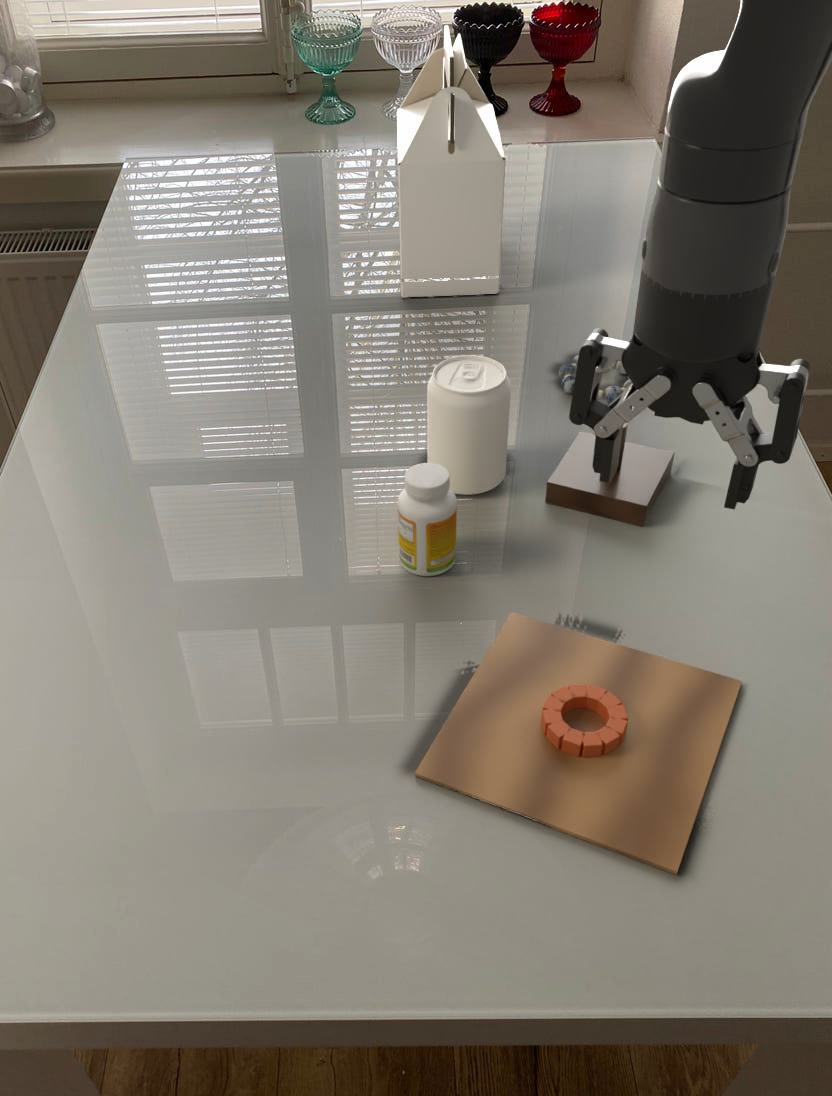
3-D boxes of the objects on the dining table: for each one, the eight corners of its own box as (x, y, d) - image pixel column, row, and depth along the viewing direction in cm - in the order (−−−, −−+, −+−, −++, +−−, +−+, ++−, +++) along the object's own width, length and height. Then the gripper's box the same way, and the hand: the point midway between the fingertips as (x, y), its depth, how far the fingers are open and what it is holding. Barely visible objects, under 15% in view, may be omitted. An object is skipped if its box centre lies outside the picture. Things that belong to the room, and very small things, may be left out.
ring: (635, 711, 79) (637, 699, 78) (610, 768, 75) (612, 756, 74) (557, 686, 81) (559, 674, 80) (530, 740, 77) (531, 728, 76)
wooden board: (741, 684, 81) (742, 680, 80) (676, 875, 68) (677, 872, 68) (510, 615, 88) (511, 611, 88) (414, 776, 76) (414, 773, 76)
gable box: (499, 296, 133) (510, 62, 114) (401, 300, 134) (395, 68, 114) (487, 230, 149) (495, 15, 130) (399, 234, 150) (394, 21, 130)
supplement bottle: (460, 545, 96) (463, 461, 89) (449, 581, 92) (451, 496, 85) (406, 538, 97) (404, 454, 90) (393, 573, 93) (390, 488, 86)
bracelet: (658, 397, 113) (661, 382, 111) (579, 414, 111) (581, 398, 110) (618, 358, 120) (620, 343, 118) (543, 373, 118) (545, 358, 117)
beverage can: (420, 495, 102) (419, 391, 93) (435, 451, 107) (435, 349, 99) (499, 503, 100) (505, 398, 92) (509, 458, 106) (516, 355, 97)
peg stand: (670, 472, 102) (683, 408, 97) (643, 527, 96) (655, 462, 91) (577, 451, 106) (584, 388, 101) (544, 502, 100) (551, 438, 95)
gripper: (850, 249, 57) (785, 481, 68) (607, 221, 62) (584, 441, 74) (830, 306, 53) (764, 544, 64) (570, 271, 58) (551, 497, 69)
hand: (668, 489), depth 69 cm, fingers open, 8 cm apart
